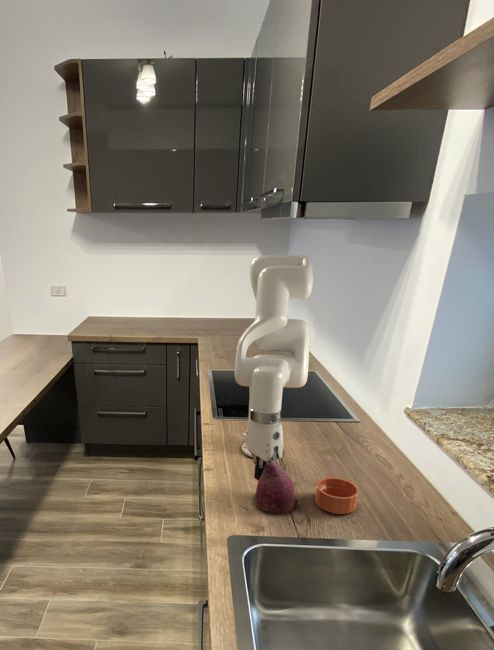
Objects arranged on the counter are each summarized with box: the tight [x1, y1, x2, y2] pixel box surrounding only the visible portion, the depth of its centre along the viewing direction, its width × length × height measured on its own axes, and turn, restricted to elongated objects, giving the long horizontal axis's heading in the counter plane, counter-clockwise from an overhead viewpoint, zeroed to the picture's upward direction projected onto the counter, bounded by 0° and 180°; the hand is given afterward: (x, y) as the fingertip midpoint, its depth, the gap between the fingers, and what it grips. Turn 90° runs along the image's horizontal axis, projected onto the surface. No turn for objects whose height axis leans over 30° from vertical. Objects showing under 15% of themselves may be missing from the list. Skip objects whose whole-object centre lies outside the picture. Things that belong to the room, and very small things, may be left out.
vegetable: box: [255, 459, 296, 514], centre depth 113 cm, size 10×10×15 cm
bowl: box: [314, 476, 360, 515], centre depth 114 cm, size 10×10×5 cm
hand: (260, 478), depth 119 cm, fingers closed
